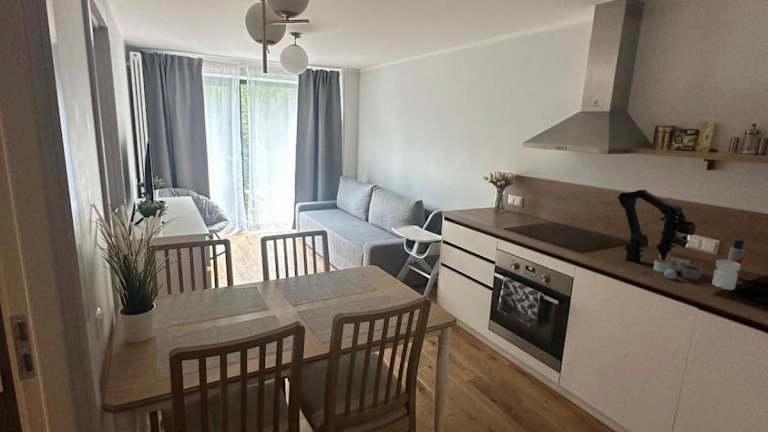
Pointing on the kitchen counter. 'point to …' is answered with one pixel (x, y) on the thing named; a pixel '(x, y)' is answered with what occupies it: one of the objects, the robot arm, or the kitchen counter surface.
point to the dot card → (678, 263)
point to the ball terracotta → (666, 257)
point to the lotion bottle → (737, 253)
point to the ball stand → (651, 273)
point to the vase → (725, 274)
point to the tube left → (662, 265)
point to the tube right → (691, 272)
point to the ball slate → (670, 273)
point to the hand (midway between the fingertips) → (664, 259)
